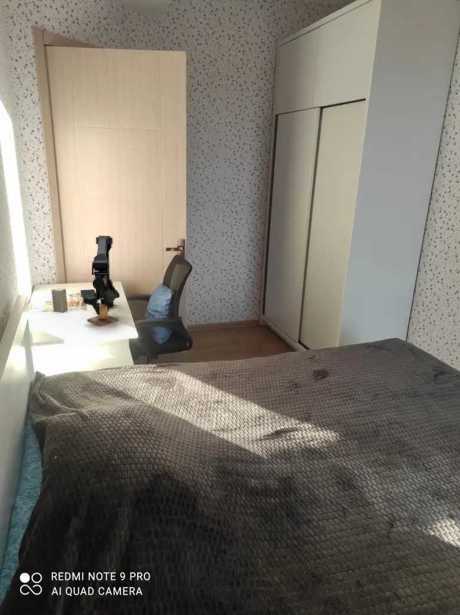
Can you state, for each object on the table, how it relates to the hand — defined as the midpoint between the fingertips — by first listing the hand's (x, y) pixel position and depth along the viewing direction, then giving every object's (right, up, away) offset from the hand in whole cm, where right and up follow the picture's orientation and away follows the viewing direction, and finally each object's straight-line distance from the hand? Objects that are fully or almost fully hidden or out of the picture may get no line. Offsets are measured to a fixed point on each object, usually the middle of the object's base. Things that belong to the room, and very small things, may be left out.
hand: (102, 313), depth 234 cm
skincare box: (-27, +1, +13) cm, 30 cm away
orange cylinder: (0, -2, +1) cm, 2 cm away
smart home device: (-19, +9, +40) cm, 45 cm away
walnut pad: (0, -4, +1) cm, 4 cm away
